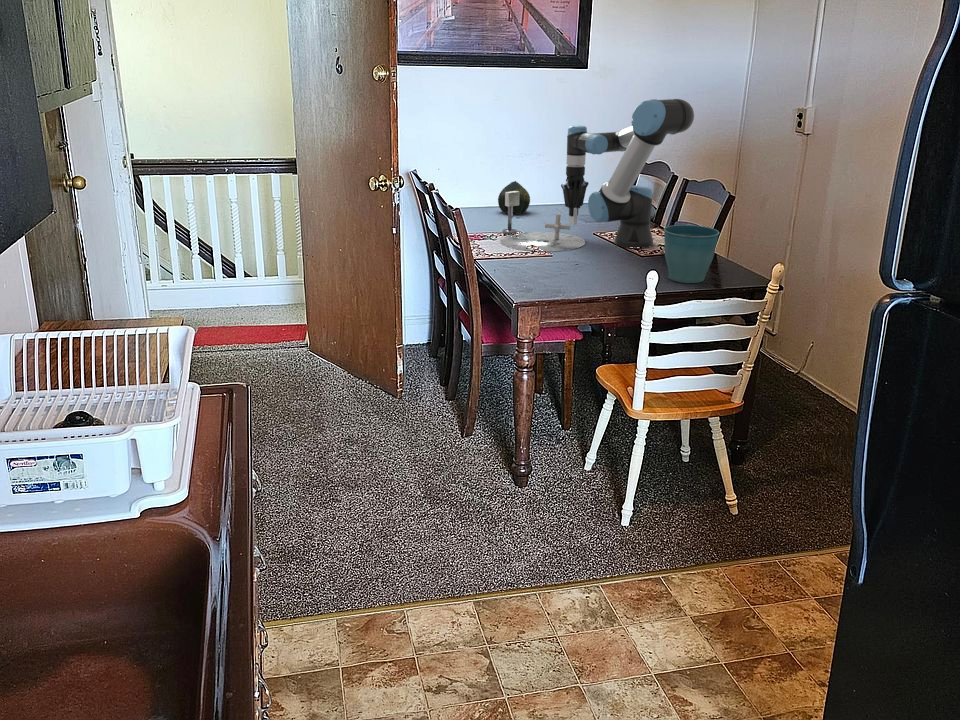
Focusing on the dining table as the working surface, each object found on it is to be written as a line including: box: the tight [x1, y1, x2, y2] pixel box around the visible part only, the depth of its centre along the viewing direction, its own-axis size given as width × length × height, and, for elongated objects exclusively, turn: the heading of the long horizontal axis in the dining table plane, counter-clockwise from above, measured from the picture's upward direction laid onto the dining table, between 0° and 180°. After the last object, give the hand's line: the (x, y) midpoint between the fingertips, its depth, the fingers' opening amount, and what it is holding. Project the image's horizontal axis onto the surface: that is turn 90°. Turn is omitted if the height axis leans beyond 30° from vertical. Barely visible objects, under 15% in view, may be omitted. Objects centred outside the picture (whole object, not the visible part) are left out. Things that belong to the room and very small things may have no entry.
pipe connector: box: [544, 213, 571, 239], centre depth 347 cm, size 10×10×10 cm
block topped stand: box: [501, 191, 520, 235], centre depth 357 cm, size 6×6×17 cm
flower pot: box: [663, 224, 720, 284], centre depth 290 cm, size 18×18×17 cm
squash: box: [497, 180, 531, 215], centre depth 400 cm, size 14×15×15 cm
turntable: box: [500, 231, 586, 253], centre depth 345 cm, size 34×34×1 cm
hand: (573, 223), depth 351 cm, fingers closed
